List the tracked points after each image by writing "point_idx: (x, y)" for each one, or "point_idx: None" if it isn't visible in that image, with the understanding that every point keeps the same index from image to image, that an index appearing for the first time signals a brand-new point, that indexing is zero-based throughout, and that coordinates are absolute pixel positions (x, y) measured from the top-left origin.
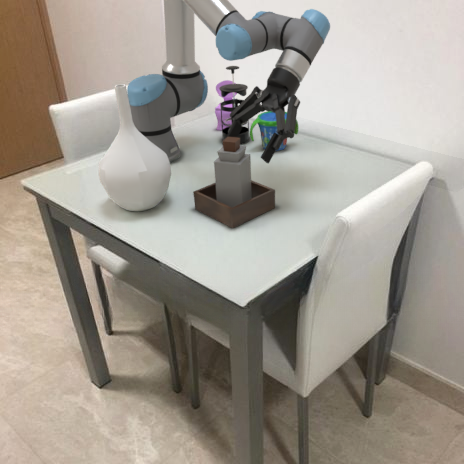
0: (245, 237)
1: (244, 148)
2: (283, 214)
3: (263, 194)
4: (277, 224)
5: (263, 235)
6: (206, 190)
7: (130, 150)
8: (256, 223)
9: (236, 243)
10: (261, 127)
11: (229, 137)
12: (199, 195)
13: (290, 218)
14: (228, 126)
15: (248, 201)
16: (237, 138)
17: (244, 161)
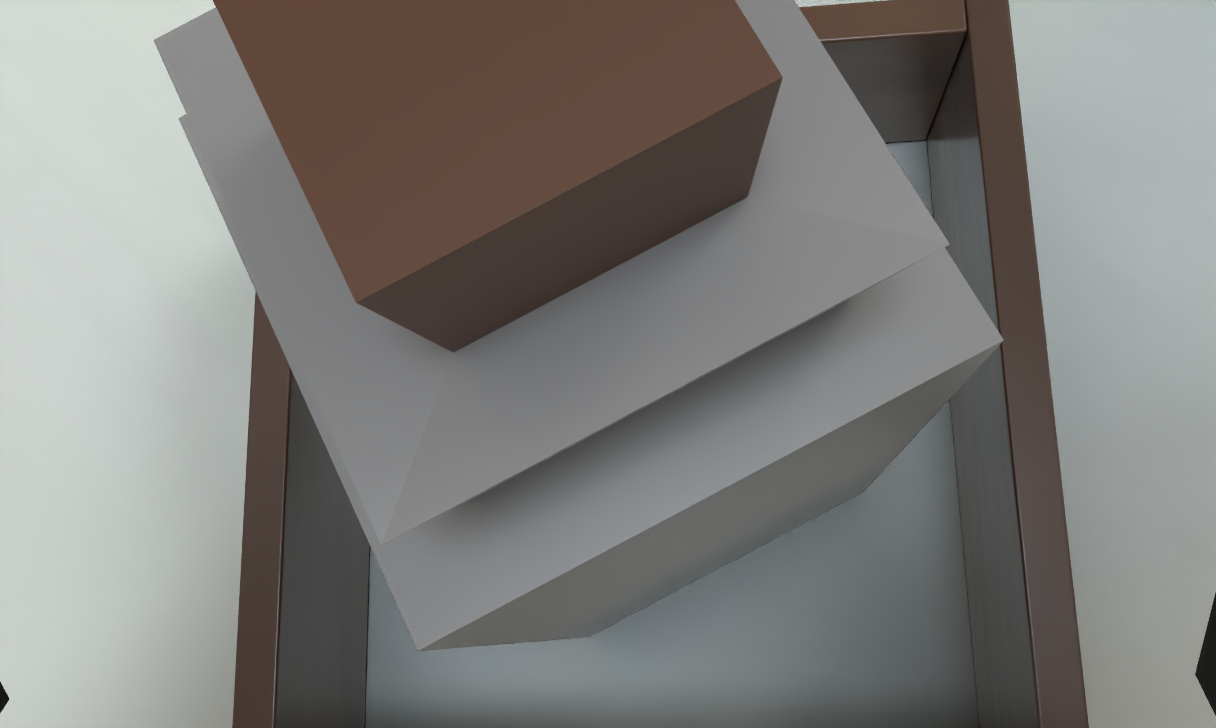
0: (148, 134)
1: (333, 416)
2: (159, 723)
3: (253, 585)
4: (73, 515)
5: (46, 272)
6: (976, 187)
7: None
8: (247, 377)
9: (140, 18)
10: None
11: (663, 67)
12: (872, 7)
13: (47, 708)
14: None
15: (262, 311)
16: (380, 193)
17: (279, 324)
